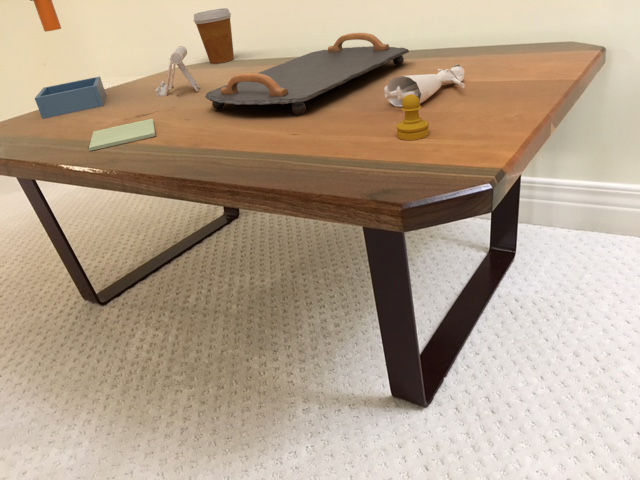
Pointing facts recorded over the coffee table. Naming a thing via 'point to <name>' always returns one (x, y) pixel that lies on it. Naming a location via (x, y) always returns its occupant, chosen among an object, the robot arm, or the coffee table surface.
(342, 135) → the coffee table surface
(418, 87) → the woman figurine
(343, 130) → the coffee table surface
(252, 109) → the coffee table surface
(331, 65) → the serving tray
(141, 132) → the mat
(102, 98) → the box
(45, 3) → the glue stick
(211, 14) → the disposable coffee cup
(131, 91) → the coffee table surface
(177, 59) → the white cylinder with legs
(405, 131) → the chess piece
